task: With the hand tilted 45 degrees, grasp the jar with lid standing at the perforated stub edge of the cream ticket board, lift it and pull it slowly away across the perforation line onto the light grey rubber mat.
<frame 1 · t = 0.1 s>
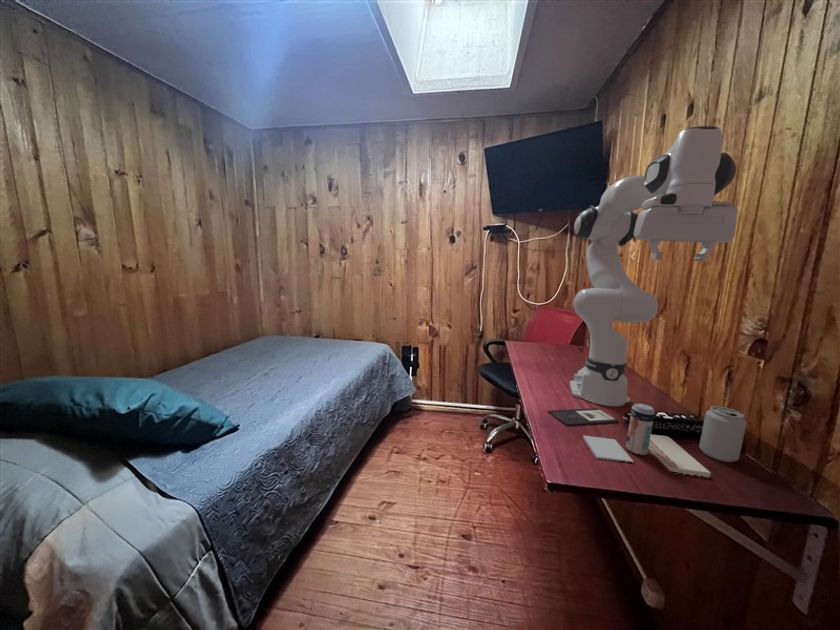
hand: (678, 260, 79), 48 cm above the table, tool pointing down, fingers open, 8 cm apart
mat: (606, 449, 83), on the table
jar with lid: (636, 451, 83), on the table
ticket board: (668, 455, 81), on the table
can: (717, 456, 83), on the table
chocolate bar: (581, 419, 100), on the table
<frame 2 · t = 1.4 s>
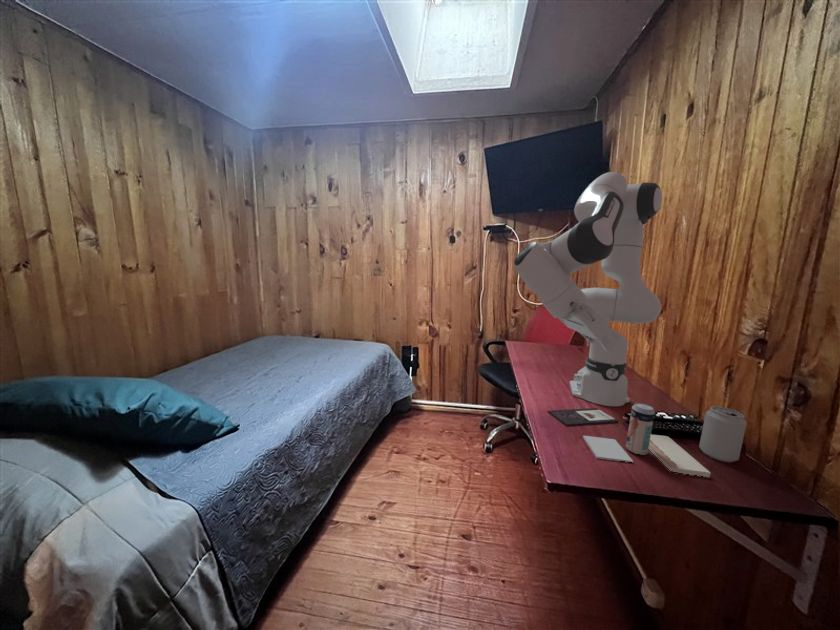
hand: (601, 344, 80), 27 cm above the table, tool tilted 45°, fingers open, 8 cm apart
nothing on the table moved.
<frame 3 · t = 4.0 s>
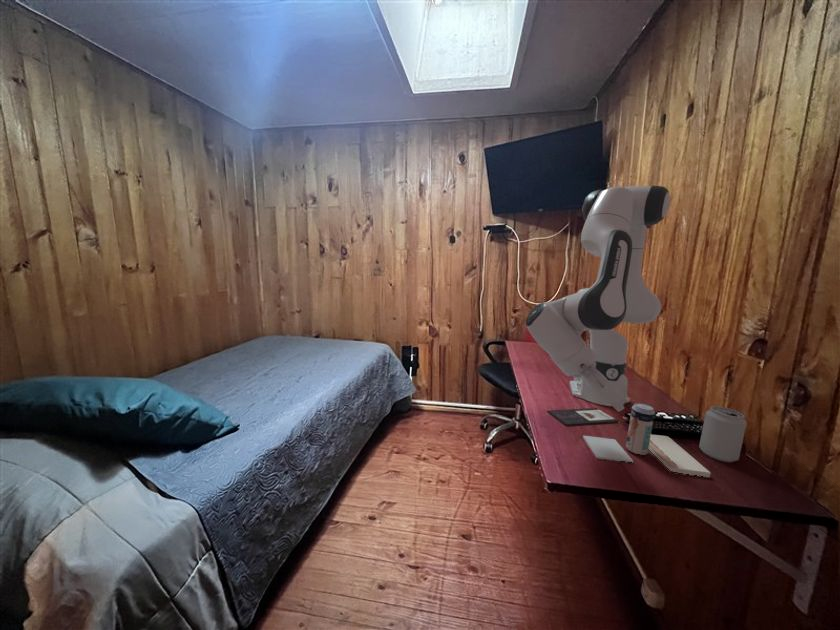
hand: (612, 400, 82), 13 cm above the table, tool tilted 45°, fingers open, 8 cm apart
nothing on the table moved.
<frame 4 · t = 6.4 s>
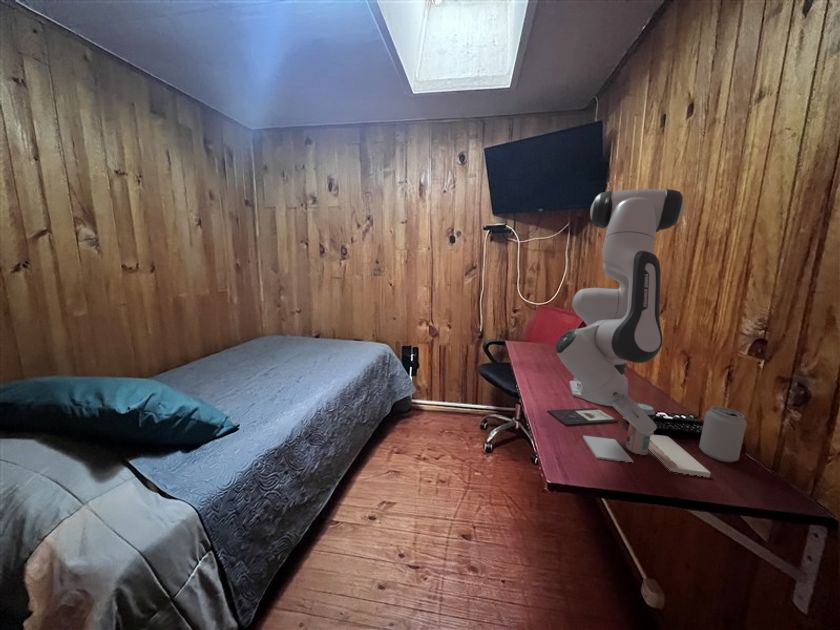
hand: (643, 427, 81), 6 cm above the table, tool tilted 45°, fingers closed on jar with lid, 5 cm apart
jar with lid: (636, 451, 83), on the table, touching gripper
everything else where it was.
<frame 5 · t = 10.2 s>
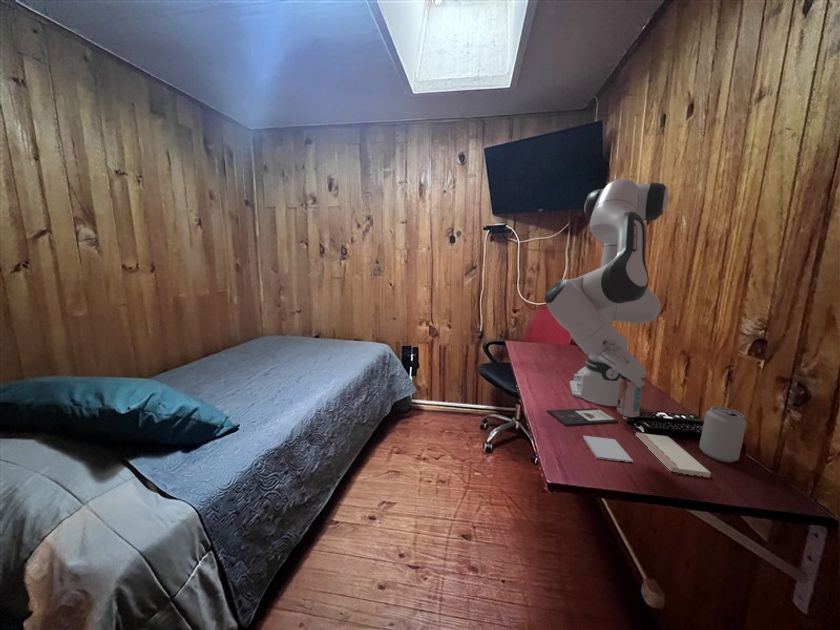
hand: (633, 380, 80), 19 cm above the table, tool tilted 45°, fingers closed on jar with lid, 5 cm apart
jar with lid: (627, 414, 81), point 10 cm above the table, touching gripper
everything else where it was.
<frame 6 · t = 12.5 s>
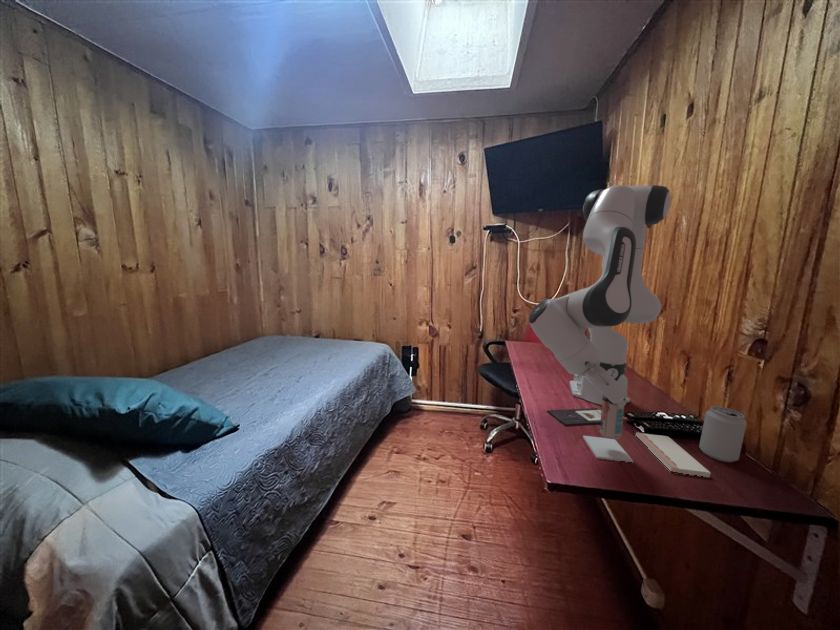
hand: (616, 399, 80), 13 cm above the table, tool tilted 45°, fingers closed on jar with lid, 5 cm apart
jar with lid: (610, 436, 82), point 4 cm above the table, touching gripper
everything else where it was.
when the fingers open (8 cm above the table, at t = 14.1 s): jar with lid stays where it is, resting on mat.
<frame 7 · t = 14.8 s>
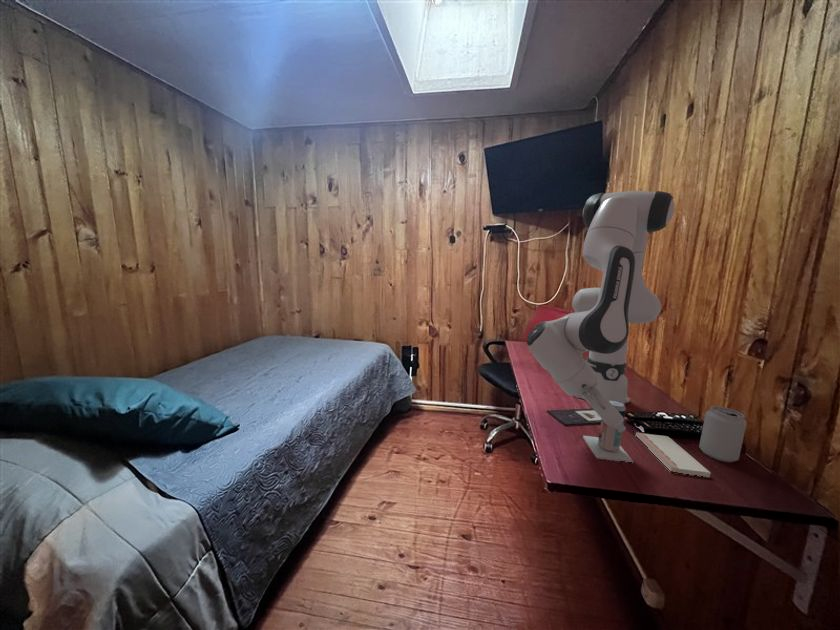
hand: (613, 420, 81), 8 cm above the table, tool tilted 45°, fingers open, 8 cm apart
jar with lid: (608, 448, 82), resting on mat
everything else where it was.
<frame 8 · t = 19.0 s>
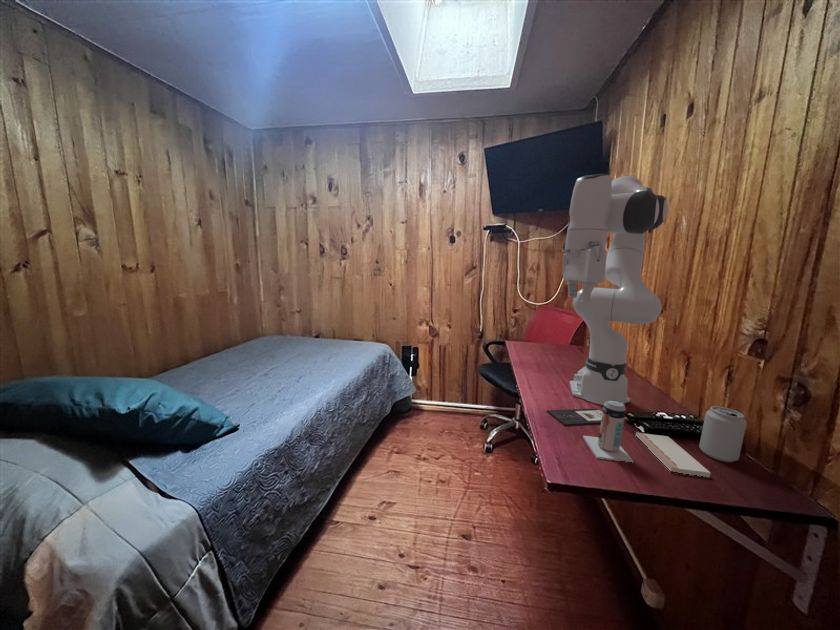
hand: (578, 299, 82), 37 cm above the table, tool pointing down, fingers open, 8 cm apart
nothing on the table moved.
at the end: jar with lid inside the target area on the mat (0.4 cm from its centre), point 0.3 cm above the mat's base; jar with lid tilted 0°; the gripper is holding nothing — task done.
